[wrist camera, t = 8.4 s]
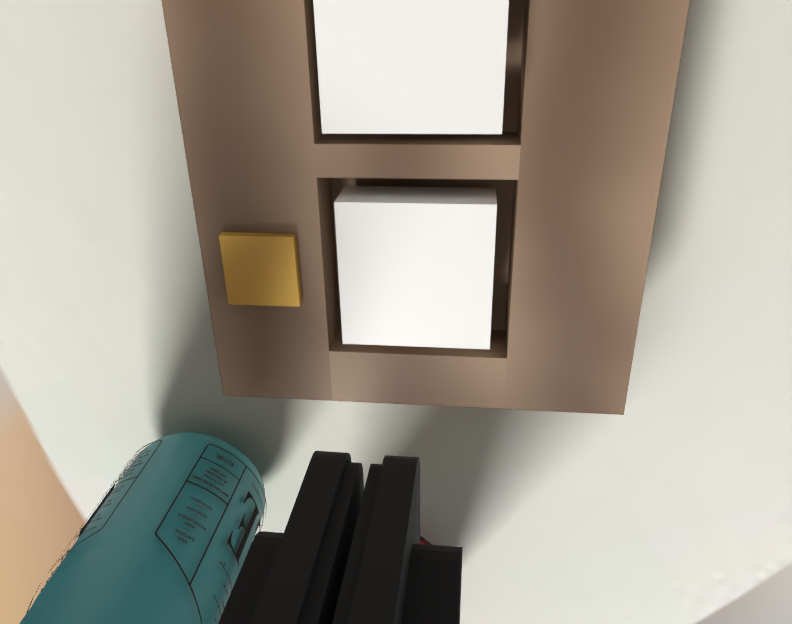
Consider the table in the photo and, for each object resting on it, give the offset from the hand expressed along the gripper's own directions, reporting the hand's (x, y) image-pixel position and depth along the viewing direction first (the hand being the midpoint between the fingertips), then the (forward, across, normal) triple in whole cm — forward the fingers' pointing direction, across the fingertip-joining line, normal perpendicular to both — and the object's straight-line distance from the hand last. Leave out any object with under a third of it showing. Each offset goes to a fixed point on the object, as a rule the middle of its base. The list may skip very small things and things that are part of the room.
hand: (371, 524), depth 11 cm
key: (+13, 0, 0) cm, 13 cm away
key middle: (+12, 0, -7) cm, 13 cm away
